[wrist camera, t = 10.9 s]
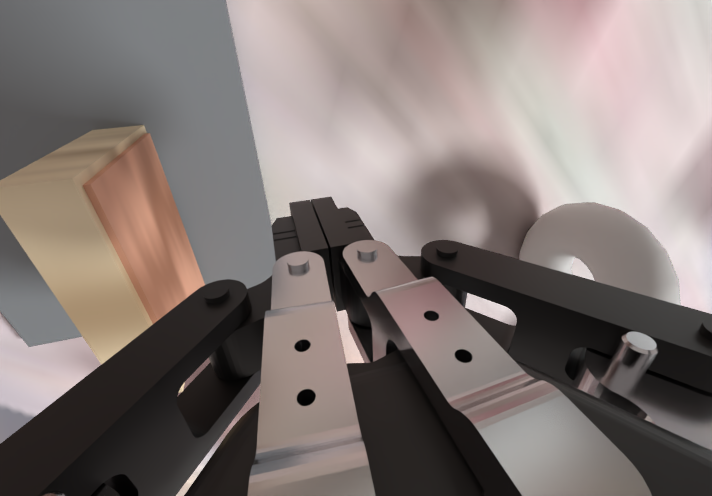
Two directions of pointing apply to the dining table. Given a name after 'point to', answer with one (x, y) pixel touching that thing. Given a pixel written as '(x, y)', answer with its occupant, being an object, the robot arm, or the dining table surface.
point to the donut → (603, 249)
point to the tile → (104, 234)
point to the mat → (132, 108)
